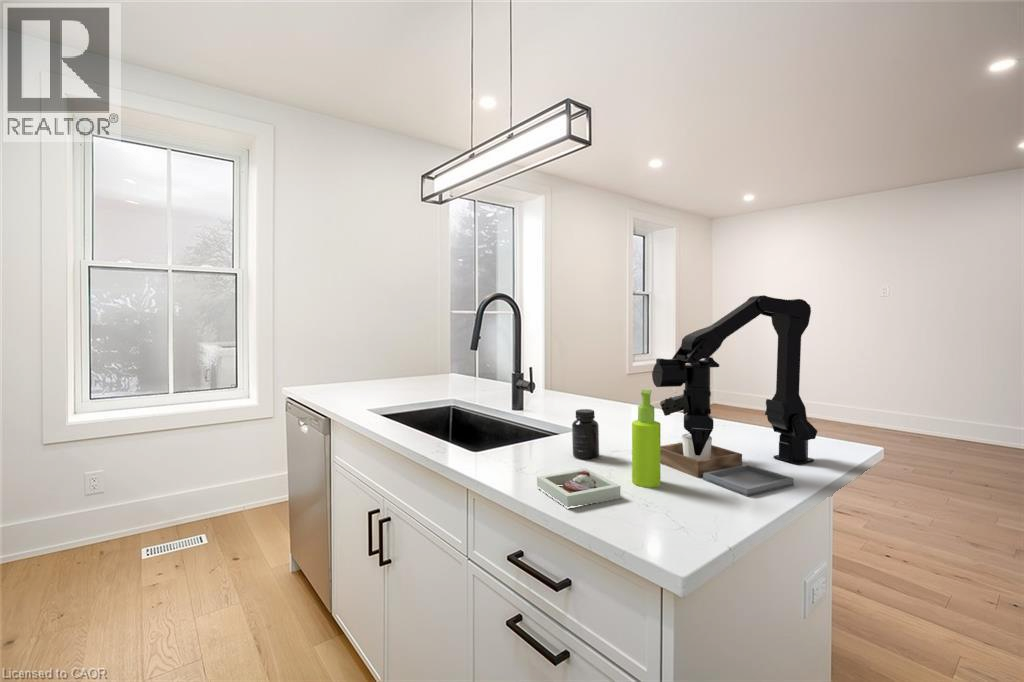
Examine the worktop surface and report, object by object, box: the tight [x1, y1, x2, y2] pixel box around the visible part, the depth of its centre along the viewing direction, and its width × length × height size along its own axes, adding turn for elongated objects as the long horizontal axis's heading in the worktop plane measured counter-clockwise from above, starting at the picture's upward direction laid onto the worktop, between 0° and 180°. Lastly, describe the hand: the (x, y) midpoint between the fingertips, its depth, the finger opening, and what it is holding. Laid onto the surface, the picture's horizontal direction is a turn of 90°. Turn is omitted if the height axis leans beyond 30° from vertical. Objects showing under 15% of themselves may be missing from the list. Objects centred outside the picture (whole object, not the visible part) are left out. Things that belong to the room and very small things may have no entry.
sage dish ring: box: [536, 468, 621, 507], centre depth 94 cm, size 12×12×2 cm
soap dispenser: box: [631, 389, 661, 488], centre depth 100 cm, size 6×7×20 cm
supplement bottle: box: [571, 408, 600, 461], centre depth 120 cm, size 7×7×12 cm
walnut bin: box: [660, 442, 743, 479], centre depth 112 cm, size 14×14×4 cm
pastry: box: [561, 471, 597, 493], centre depth 93 cm, size 8×8×5 cm
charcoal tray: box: [702, 463, 795, 497], centre depth 99 cm, size 14×11×2 cm
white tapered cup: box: [681, 432, 713, 460], centre depth 112 cm, size 7×7×7 cm
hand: (697, 450), depth 112 cm, fingers open, 9 cm apart
